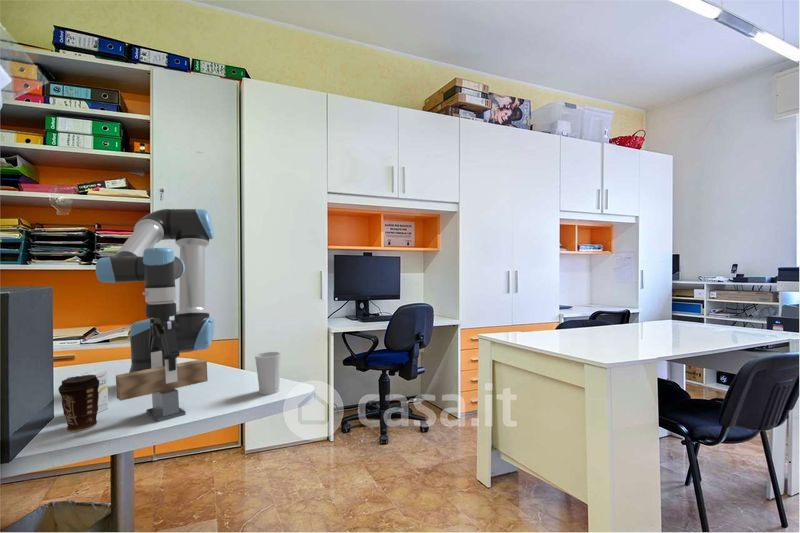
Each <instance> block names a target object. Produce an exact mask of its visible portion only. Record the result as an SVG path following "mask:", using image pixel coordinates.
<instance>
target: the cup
mask: <svg viewBox="0 0 800 533" xmlns="http://www.w3.org/2000/svg"><path fill="white" fill-rule="evenodd" d="M281 356H282V353H281V352H279V351H266V352H260V353H258V354H255V355H254V359H255V366H256V373H257V374H256V375H257V382H258V393H259V394H260V395H274V394H277V393H278V392H280V390H281V388H280V383H281V382H280V381H281V359H282V358H281Z"/></svg>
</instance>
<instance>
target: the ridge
mask: <svg viewBox="0 0 800 533" xmlns="http://www.w3.org/2000/svg"><path fill="white" fill-rule="evenodd" d="M151 401H152V407H151V408H148V409H146V411H145V412H146V414H147V415H148V416H150V417H151V418H153V420H154V421H156V422H157V423H159V422H164V421H167V420H171V419H175V418H178V417H182V416H185V415H186V414H187V413H186V412H187V411H185V410H184V409H182V408H181V407H180V402H179V390H178V389H177V388H175V389H170V390H166V391H162V392H157V393H153V394H151Z"/></svg>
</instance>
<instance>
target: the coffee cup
mask: <svg viewBox="0 0 800 533" xmlns="http://www.w3.org/2000/svg"><path fill="white" fill-rule="evenodd" d="M98 388H99V380H98V379H97V377H96V375H83V376H76V377H71V378H69V379H67V378H66V379H64V380H62V381H61V384H60V385H59V387H58V393H59V394H60V396H61V406H62V407H61V408H62V410H63V414H62V415H64V417H65V421H66V424H67V426H66V430H67V431H66V430H65V431H66V432H68V431H69V433H78V432H82V431H85V430H89V429H91V428H93V427H94V426H96V425H98V424H97V423H98V420H97V415H98V413H97V411H98V399H99V393H98Z"/></svg>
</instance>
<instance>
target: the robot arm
mask: <svg viewBox="0 0 800 533" xmlns="http://www.w3.org/2000/svg"><path fill="white" fill-rule="evenodd" d="M133 227H134V228H133V232H132V233H131V234H130V236H129V237H128V238H127V239H126V241H125V242H124V243H123V244H122V246H121V247H120V248H119V249H118V250H117V252H116V253H115V254H114V255H113V256H107V257H101V258H99V259H98V260H97V261H96V263H95V274H96V278H97V279H98V280H99V282H101V283H106V284H107V283H108V284H109V283H111V284H112V283H113V284H116V283H134V282H143V283H144V291H143V292H142V295H143V296H144V298H145V302H146V303H147V304H145V316H146V318H147V319H142V320H139V321H135V322H133V323H132V324H131V325H130V327H129V328H130V332H129V333H130V335H129V339H130V356H131V357H130V358H131V362H130V363H131V365H130V369H129V372H128V373H131V372H136V371H141V370H147V369H152V368H157V367H163V366H165V377H166V384H167V383H172V382H177V381H178V380H177V364H178V362H177V361H178V357H180V355H181V354H180V352H181V353H182V352H198V351H202V350H207V349H208V348H209V347H210V346H211V344H212V342H213V338H214V333H215V319H214V317H211V316H210V312H209V311H208V310H206V247H207V246H209V244H210V240H213V239H214V238H215V237H214V236H215V235H214V234H215V233H214V232H215V231H214V226H213V222H212V218H211V214H210V213H209V211H208V210H206V209H201V208H163V209H162V208H161V209H158V210H155V211H152V212H150V213H148V214H146V215H145V216H143V217H142V218H140V219H139V220H137V222H136V223H135V225H134V226H133ZM164 240H175V241H174V242H175V244H176V246H178V247H179V257H178V256H175V253H174V252H175V251H174V249H173V248H170V247H154V246H156V244H158V243H160V242H161V241H164ZM176 280H179V283H178V284H179V289H178V290H179V293H178V295H179V296H178V298H179V300H178V303H179V304H178V308H179V309H178V311H177V303H176V302H175V301H176V300H177V289H176ZM170 317H174V319H171V320H170Z"/></svg>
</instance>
